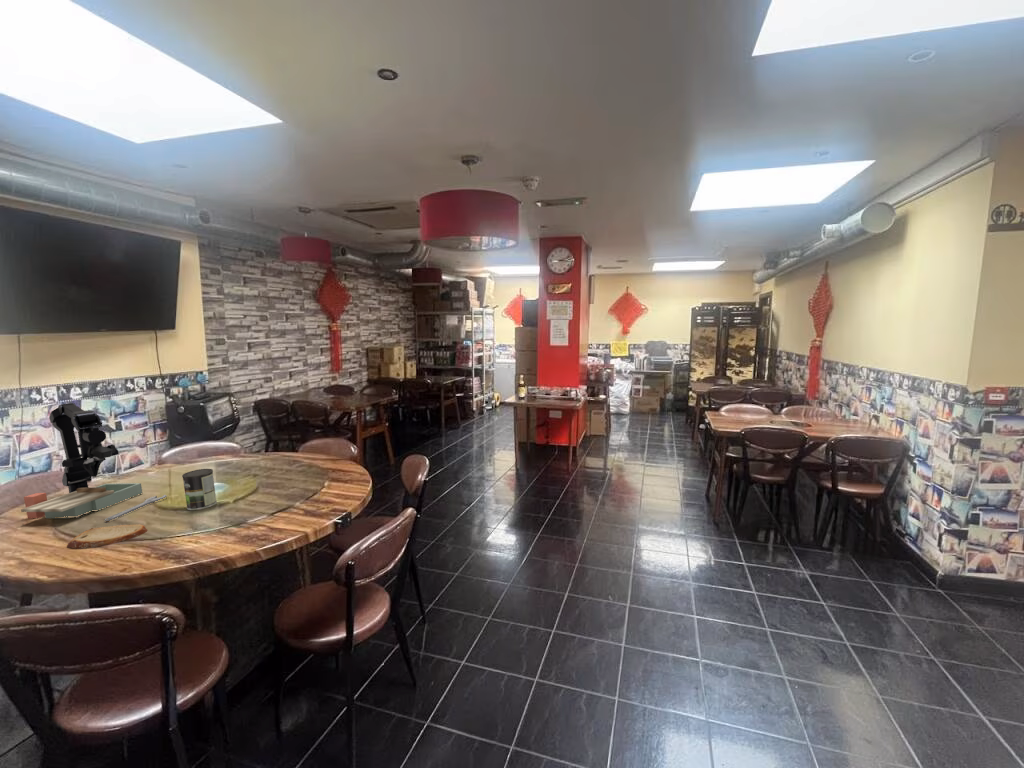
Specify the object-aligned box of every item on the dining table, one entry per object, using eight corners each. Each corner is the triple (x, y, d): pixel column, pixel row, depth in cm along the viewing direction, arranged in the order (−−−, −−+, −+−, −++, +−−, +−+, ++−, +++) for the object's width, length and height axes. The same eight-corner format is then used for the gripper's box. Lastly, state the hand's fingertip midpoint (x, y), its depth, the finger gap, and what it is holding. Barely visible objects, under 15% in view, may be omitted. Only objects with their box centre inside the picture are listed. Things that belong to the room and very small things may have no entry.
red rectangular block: (27, 518, 178) (23, 496, 177) (40, 513, 182) (36, 492, 181) (37, 518, 177) (33, 496, 176) (49, 513, 182) (45, 492, 181)
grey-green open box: (41, 518, 177) (39, 506, 177) (107, 494, 203) (105, 483, 202) (80, 518, 175) (78, 506, 174) (142, 493, 201) (140, 483, 200)
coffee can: (190, 512, 175) (185, 478, 173) (184, 506, 182) (179, 473, 180) (220, 504, 182) (215, 471, 181) (213, 498, 190) (209, 467, 188)
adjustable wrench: (109, 523, 169) (108, 519, 169) (95, 523, 171) (94, 519, 170) (169, 498, 194) (169, 494, 194) (157, 498, 195) (156, 494, 195)
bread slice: (152, 531, 160) (150, 521, 159) (88, 555, 143) (86, 544, 143) (125, 524, 167) (123, 515, 167) (61, 546, 151) (59, 536, 150)
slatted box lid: (21, 511, 171) (20, 505, 170) (77, 492, 190) (76, 487, 190) (62, 511, 169) (60, 505, 168) (114, 492, 188) (113, 486, 188)
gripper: (81, 447, 178) (88, 484, 180) (126, 435, 196) (132, 469, 198) (57, 447, 179) (64, 484, 181) (104, 436, 198) (110, 469, 200)
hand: (94, 476), depth 190 cm, fingers closed
